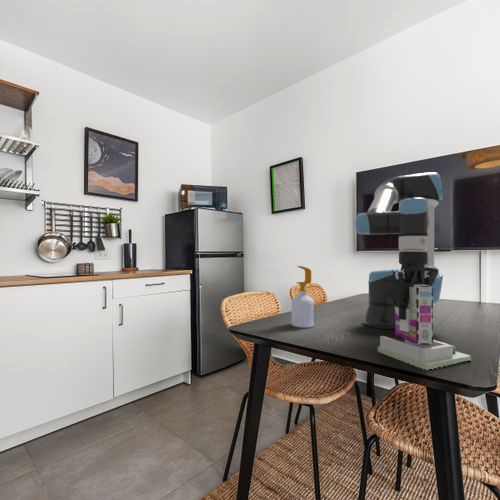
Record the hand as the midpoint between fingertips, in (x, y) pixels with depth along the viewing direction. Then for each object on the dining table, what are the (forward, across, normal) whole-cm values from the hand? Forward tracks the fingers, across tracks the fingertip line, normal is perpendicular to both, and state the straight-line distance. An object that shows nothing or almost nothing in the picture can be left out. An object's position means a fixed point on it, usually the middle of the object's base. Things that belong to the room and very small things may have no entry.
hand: (412, 329), depth 89 cm
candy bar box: (+3, 0, 0) cm, 3 cm away
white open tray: (+8, +2, -1) cm, 8 cm away
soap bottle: (+8, -10, +44) cm, 45 cm away
